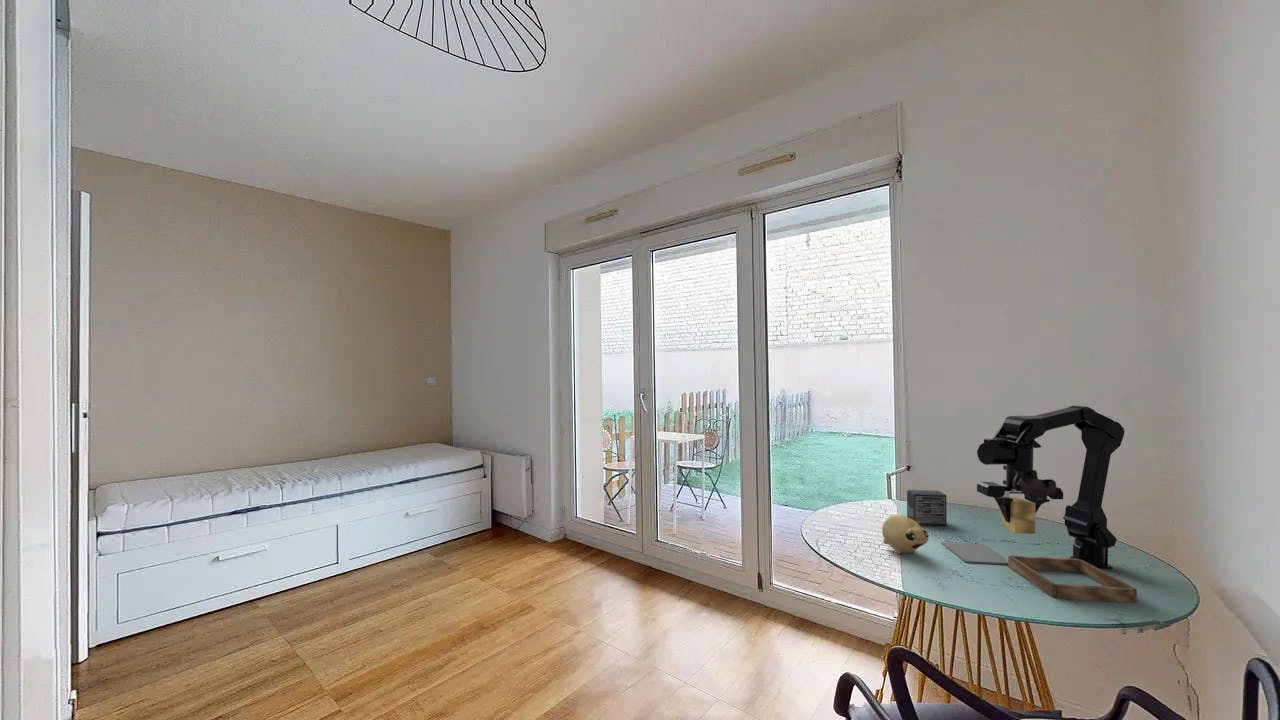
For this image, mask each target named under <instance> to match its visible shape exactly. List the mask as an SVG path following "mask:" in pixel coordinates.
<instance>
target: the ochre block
mask: <svg viewBox="0 0 1280 720" xmlns="http://www.w3.org/2000/svg"><path fill="white" fill-rule="evenodd" d="M1011 498H1012V499H1013V501H1012V502H1011V504H1010V522H1006V520H1005V518H1004V516H1003V515H1002V527H1003V528H1005V529H1007V530H1009V531H1010V532H1012V533H1014V534H1026V535H1027V534H1031V535H1034V534H1036V514H1035V506H1036V503H1034V502H1031V501H1029V500H1026V499H1025V497H1011Z"/></svg>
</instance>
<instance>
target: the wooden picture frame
mask: <svg viewBox="0 0 1280 720" xmlns="http://www.w3.org/2000/svg"><path fill="white" fill-rule="evenodd" d="M1007 560H1008V565H1007V566H1008V568H1009V569H1010V570H1012V571H1013V572H1015V573H1016V574H1017V575H1019V576H1020V577H1022V578H1023V579H1025V580H1026V581H1028V582H1029V583H1030V584H1031V585H1033V586H1035V587H1036V588H1038V589H1039V590H1041V591H1042V592H1044V593H1045V594H1046V595H1048V596H1049V597H1051V598H1057V599H1061V600H1062V599H1063V600H1076V599H1077V601H1093V600H1095V602H1096V601H1098V602H1113V603H1114V602H1115V603H1129V604H1134V603H1137V601H1138V600H1137V597H1138V596H1137V595H1138V591H1137V590H1138V589H1137V588H1135V587H1134V586H1132V585H1131V584H1128V583H1126V582H1125V581H1122V580H1121V579H1119V578H1118V577H1115V576H1113V575H1111V574H1109V573H1108V572H1105V570H1102V569H1101V568H1097V567H1095V566H1093V565H1091V564H1089V563H1087V562H1085V561H1084V560H1079V559H1073V558H1069V557H1049V556H1032V555H1012V554H1011V555H1008V557H1007ZM1036 570H1041V571H1043V570H1044V571H1045V570H1046V571H1059V572H1061V571H1062V572H1064V571H1065V572H1078V571H1079V572H1078V573H1081V574H1082V573H1083V575H1085V576H1086V577H1088V578H1090V579H1091V580H1093V581H1094V582H1096V583H1099V584H1100V585H1102V586H1100V585H1099V586H1098V585H1083V584H1066V583H1065V584H1064V583H1055V582H1053V581H1051V580H1050V579H1048V578H1046V576H1044V575H1042V574H1041V573H1039V572H1038V571H1036ZM1078 599H1080V600H1078Z"/></svg>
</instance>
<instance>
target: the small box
mask: <svg viewBox="0 0 1280 720" xmlns="http://www.w3.org/2000/svg"><path fill="white" fill-rule="evenodd" d="M947 497H948V496H947V494H945V493H943V492H942V491H940V490H926V489H925V490H924V489H922V490H921V489H907V490H906V517H907V518H909V519H912V520H914V521H916V522H917V523H918V524H919V526H934V527H935V526H936V527H941V526H942V527H946V526H948V524H947Z"/></svg>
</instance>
